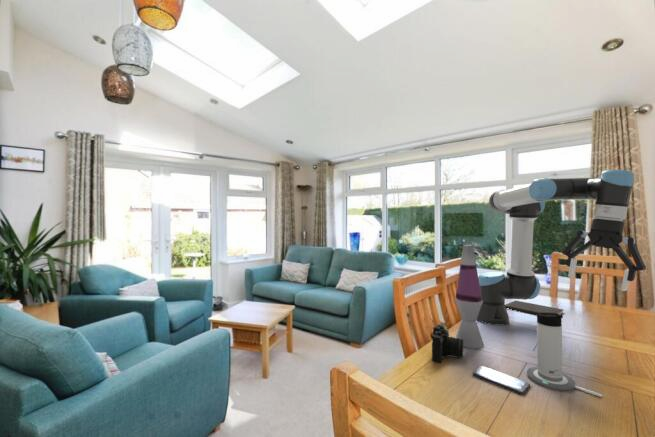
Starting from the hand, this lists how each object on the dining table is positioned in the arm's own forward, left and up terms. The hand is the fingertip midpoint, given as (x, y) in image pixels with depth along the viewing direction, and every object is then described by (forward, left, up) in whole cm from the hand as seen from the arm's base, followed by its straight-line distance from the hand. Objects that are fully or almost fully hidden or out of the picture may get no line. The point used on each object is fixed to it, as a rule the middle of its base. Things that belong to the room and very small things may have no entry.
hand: (595, 283), depth 96 cm
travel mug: (-9, -17, -28) cm, 34 cm away
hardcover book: (-34, +60, -30) cm, 75 cm away
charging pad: (-6, -17, -29) cm, 34 cm away
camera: (-38, -26, -30) cm, 54 cm away
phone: (-19, -29, -29) cm, 45 cm away
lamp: (-38, -8, -29) cm, 49 cm away
